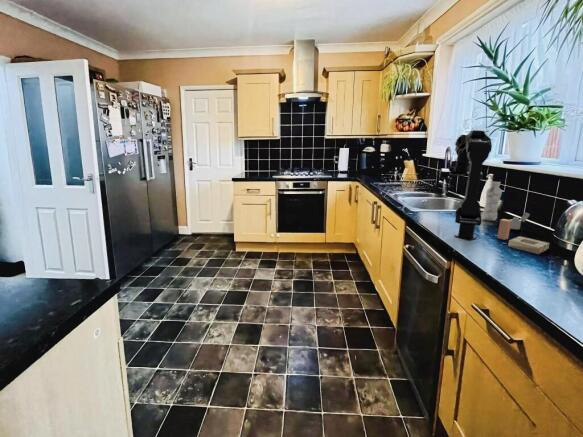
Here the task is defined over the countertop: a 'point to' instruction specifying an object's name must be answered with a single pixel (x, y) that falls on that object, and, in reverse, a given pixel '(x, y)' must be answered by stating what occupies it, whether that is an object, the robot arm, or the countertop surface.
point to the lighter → (518, 221)
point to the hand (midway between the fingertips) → (457, 189)
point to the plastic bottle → (492, 202)
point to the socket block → (528, 244)
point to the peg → (504, 229)
